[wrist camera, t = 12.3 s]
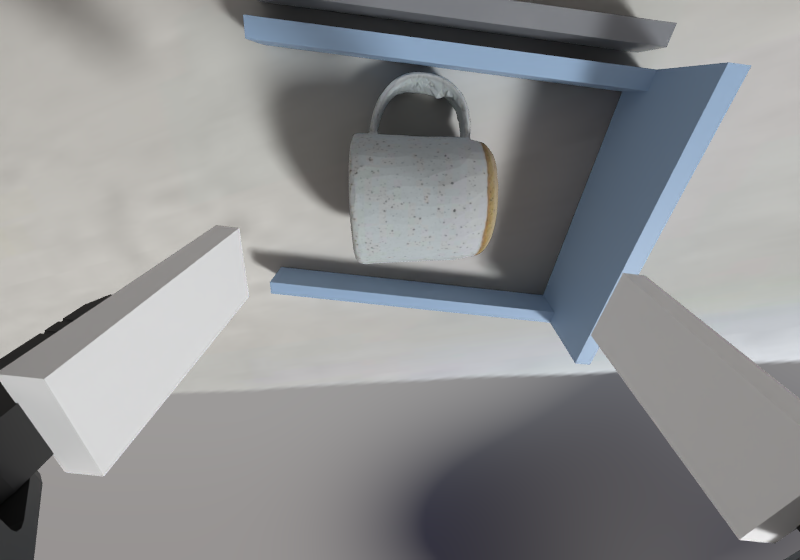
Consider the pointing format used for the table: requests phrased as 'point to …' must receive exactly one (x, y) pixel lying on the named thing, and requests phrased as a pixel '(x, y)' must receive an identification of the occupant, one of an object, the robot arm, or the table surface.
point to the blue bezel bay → (602, 197)
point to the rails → (512, 20)
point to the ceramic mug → (421, 186)
